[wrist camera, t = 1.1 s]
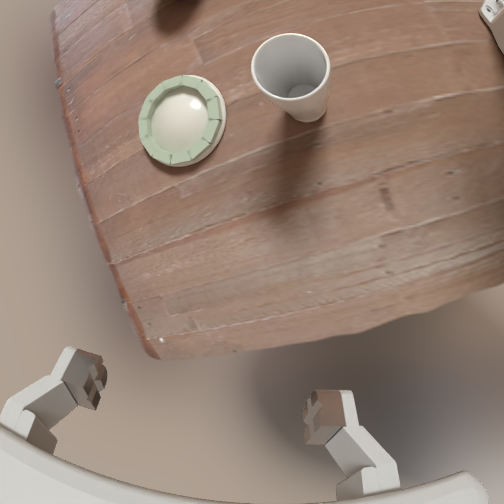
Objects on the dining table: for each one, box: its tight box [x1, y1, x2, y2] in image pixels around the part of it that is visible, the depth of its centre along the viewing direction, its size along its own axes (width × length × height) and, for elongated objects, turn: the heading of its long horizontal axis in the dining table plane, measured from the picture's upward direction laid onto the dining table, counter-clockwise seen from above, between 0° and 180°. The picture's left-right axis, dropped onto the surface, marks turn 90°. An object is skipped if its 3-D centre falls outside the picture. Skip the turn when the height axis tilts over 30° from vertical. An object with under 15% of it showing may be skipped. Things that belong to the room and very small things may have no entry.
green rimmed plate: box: [138, 75, 227, 167], centre depth 38 cm, size 14×14×2 cm
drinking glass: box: [251, 33, 332, 122], centre depth 27 cm, size 7×7×15 cm
